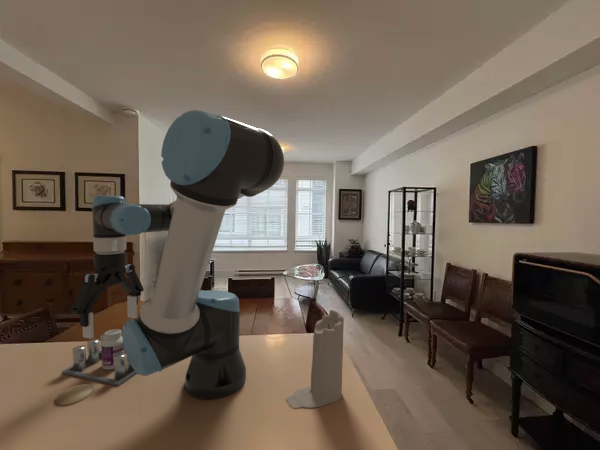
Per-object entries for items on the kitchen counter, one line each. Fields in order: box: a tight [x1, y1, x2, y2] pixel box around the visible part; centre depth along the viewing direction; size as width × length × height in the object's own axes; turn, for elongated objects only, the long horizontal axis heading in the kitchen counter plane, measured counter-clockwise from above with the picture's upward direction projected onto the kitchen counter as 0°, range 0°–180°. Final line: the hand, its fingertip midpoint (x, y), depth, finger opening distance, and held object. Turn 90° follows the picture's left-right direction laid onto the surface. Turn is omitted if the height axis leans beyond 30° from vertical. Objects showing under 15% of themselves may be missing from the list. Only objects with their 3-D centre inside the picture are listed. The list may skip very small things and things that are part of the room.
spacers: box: [72, 333, 134, 381], centre depth 79 cm, size 17×11×6 cm, turn 75°
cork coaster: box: [55, 383, 94, 406], centre depth 67 cm, size 7×7×1 cm
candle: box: [285, 309, 345, 409], centre depth 67 cm, size 7×14×20 cm, turn 113°
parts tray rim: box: [61, 350, 138, 387], centre depth 80 cm, size 19×14×1 cm
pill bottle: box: [101, 328, 125, 371], centre depth 79 cm, size 5×5×10 cm
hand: (112, 326), depth 79 cm, fingers open, 13 cm apart
